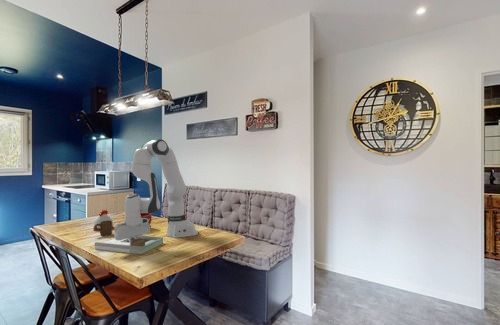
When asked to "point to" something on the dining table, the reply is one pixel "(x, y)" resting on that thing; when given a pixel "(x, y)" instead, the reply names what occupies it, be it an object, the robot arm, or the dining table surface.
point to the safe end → (148, 246)
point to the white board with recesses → (123, 244)
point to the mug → (104, 228)
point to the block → (137, 242)
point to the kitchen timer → (102, 218)
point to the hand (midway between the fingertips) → (132, 244)
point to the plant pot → (147, 216)
